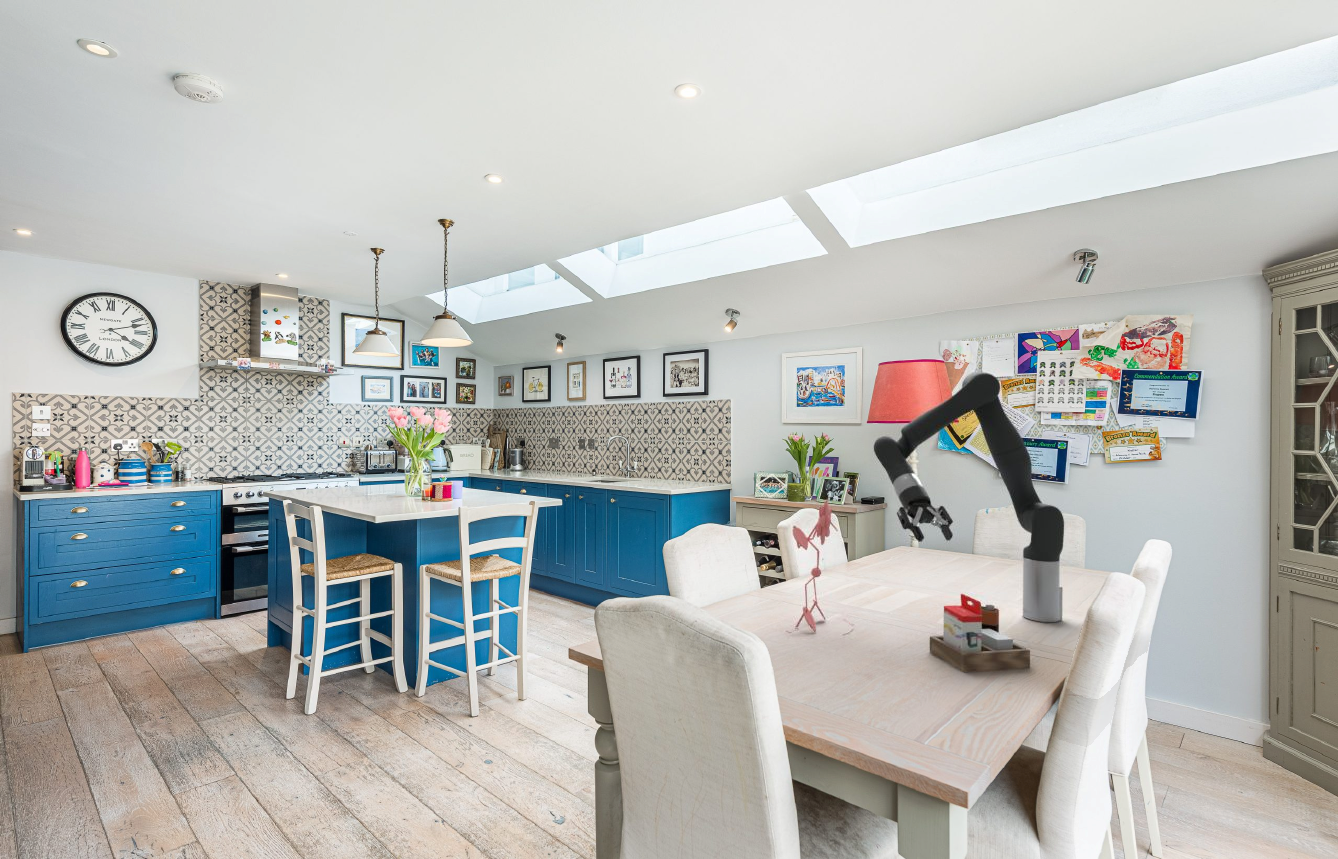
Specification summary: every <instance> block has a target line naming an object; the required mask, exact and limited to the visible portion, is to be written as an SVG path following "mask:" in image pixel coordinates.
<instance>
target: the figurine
mask: <svg viewBox="0 0 1338 859" xmlns="http://www.w3.org/2000/svg"><path fill="white" fill-rule="evenodd" d="M828 501H829V500H828V499H825V501H824V504H823V505H820V506H819V509H818V515H819V516H818V521H817V522H816V524H815V526H814V527H813V529H812V530H811V532H810V533H809V535H808V536H806V533H804V531H803V530H802V529H801V528H799V527H797V526H796V525H793V526H792V535H793V538H794V540H795V541H796V546H797V549H800V548H802V549H804V550H806V551H807V550H808V547H809V544H810V545H811V546H812V547H813V549H815V550H816V556H817V557H816V566H815V567H813V568H812V569H811V571H810V574H811V576H812V577H811V578H810V579H809V580H808V581H807V582H806V583H805V584H804V591H805V592H804V593H805V606H803V607H802V614H801V617H800V618H799V620H798V621H797V623H796V625H795V628H796V627H797V628H798V627H799V625H800V624H801V622H802V620H803V619H804V620H805V621H806V622H807V624H808V625H809V627H810V628H811V630H812V631H813V632H814V633H816V632H817V627H816V625H817V624H816V621H815V619H814V616H813V614H812V611H813V610H814V609H815V606H816V609H817V610H818V612H819V613H820V615H821V616H822V618H823V619H824V621H826V617H825V616H824V614H823V612H822V610H821V608H820V606H819V605H818V603H819V601H818V600H817V589H816V579H815V578H820V576H821V575H822V570H821V569H820V568H819V565H820V564H819V563H820V550H819V548H817V546H816V545H815V544H814V543H813V542H812V540H814V539H815V537H817V538H819V539H820V544H821V546H824V544H825V541H826V538H828V537H829V536H830V534H831V530H830V527H831V526H832V528H833V529H834V530H836V532H838V531H839V530H838V528H836V526H835V525H834V524H833V523H832V510H833V509H832V507H831V506H830V507H829V502H828ZM811 581H813V589H814V598H815V599H812V601H813V604H812V606H811V608H810V610H809V608H808V592H807V591H808V590H807V589H808V588H807V585H809V583H811ZM842 621H845V622H847V623H848V622H849V621H847V620H846V619H842ZM851 626H852V630H851V631H854V630H853V627H854V625H851ZM851 631H849V632H847V633H844V634H842V636H845V635H847V634H848V635H849V634H850V633H851ZM785 632H786V633H790V634H792V632H791V631H787V630H786V631H785Z"/></svg>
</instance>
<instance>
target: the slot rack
mask: <svg viewBox="0 0 1338 859" xmlns="http://www.w3.org/2000/svg"><path fill="white" fill-rule="evenodd" d="M929 654H931V655H933V656H935V658H938V659H939V660H940V661H943V662H945V663H947V664H948V665H950V666H952V667H953V668H955V669H957V670H959V671H961V672H962V673H969V672H970V673H973V672H985V671H986V672H988V671H1000V670H1001V671H1002V670H1015V669H1029V668H1031V649H1029V648H1026V647H1024V646H1022V645H1020V644H1018V643H1016V642H1013V650H998V651H996V650H994V649H992V648H990V647H988V646H986V645H984V644H982V643H981V652H967V653H965V652H963V651H961V650H959V649H957V648H955V647H953V646H951V645H949V644H947V643H946V642H944V641H943V635H929Z"/></svg>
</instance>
